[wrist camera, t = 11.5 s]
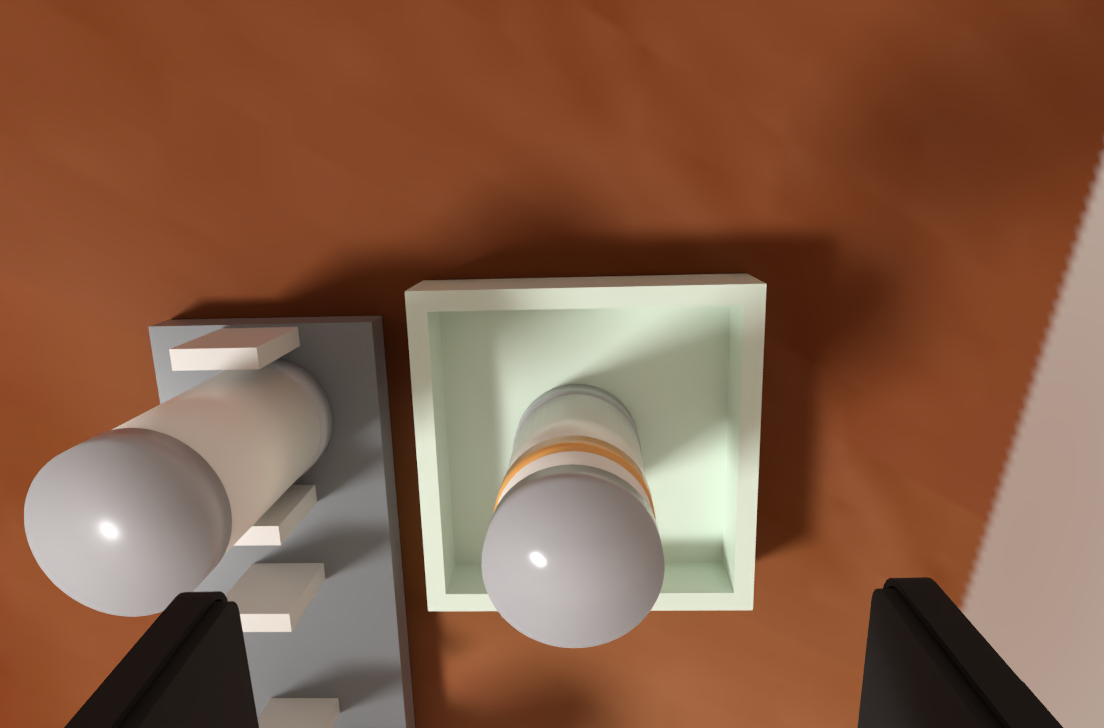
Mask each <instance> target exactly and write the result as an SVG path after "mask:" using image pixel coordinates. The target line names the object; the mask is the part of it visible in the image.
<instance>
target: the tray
mask: <svg viewBox="0 0 1104 728" xmlns="http://www.w3.org/2000/svg"><path fill="white" fill-rule="evenodd" d="M766 286H767V284H766V283H764V282H762V281H760V280H759V279H757V278H755V277H753V276H751V275H749V274H747V273H740V274H695V275H649V276H603V277H557V278H512V279H466V280H423V281H421V282H419V283H418V284H416V285H414V286H413V287H411V288H409V289H408V290H406V291H405V304H406V317H407V331H408V345H409V358H410V372H411V386H412V399H413V413H414V427H415V440H416V454H417V467H418V481H419V495H420V508H421V522H422V536H423V549H424V563H425V577H426V590H427V604H428V611H497V609H496V608H495V606H494V605H493V603H492V601H491V600H490V598H489V595H488V593H487V591H486V588H485V585H484V581H483V576H482V567H481V563H482V551H483V546H484V542H485V538H486V535H487V531H488V528H489V524H490V521H491V518H492V515H493V513H494V508H495V504H496V500H497V497H498V493H499V490H500V487H501V484H502V481H503V479H504V477H505V475H506V472H507V468H508V465H509V461H510V458H511V454H512V451H513V443H514V438H515V434H516V431H517V427H518V424H519V421H520V419H521V417H522V415H523V413H524V412H525V410H526V409H527V407H528V406H529V405H530V404H531V403H532V402H533V401H534V400H535V399H536V398H537V397H539V396H540V395H542V394H543V393H545V392H547V391H549V390H551V389H553V388H556V387H559V386H563V385H568V384H585V385H591V386H595V387H598V388H601V389H603V390H605V391H607V392H609V393H611V394H612V395H614V396H615V397H616V398H618V399H619V400H620V401H621V402H622V403H623V404H624V405H625V406H626V407H627V409H628V410H629V412H630V413H631V415H632V417H633V419H634V421H635V424H636V427H637V430H638V435H639V440H640V445H641V458H642V462H643V467H644V472H645V477H646V480H647V483H648V486H649V489H650V492H651V497H652V501H653V506H654V511H655V516H656V522H657V525H658V530H659V535H660V539H661V544H662V549H663V554H664V565H665V570H664V579H663V583H662V588H661V591H660V593H659V596H658V598H657V600H656V602H655V604H654V606H653V607H652V609H651V610H753V594H754V570H755V546H756V523H757V499H758V475H759V452H760V428H761V404H762V381H763V357H764V333H765V310H766ZM651 610H650V611H651Z"/></svg>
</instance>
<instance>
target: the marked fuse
mask: <svg viewBox="0 0 1104 728" xmlns="http://www.w3.org/2000/svg"><path fill="white" fill-rule="evenodd" d="M481 567H482V576H483V581H484V585H485V588H486V591H487V593H488V595H489V598H490V600H491V601H492V603H493V605H494V606H495V608H496V609H497V611H498V612H499V613H500V614H501V616H502V617H503V618H504V619H505V620H506V621H507V622H508V623H509V624H510V625H512V626H513V627H514V628H515V629H517V630H518V631H519V632H521V633H523V634H524V635H526V636H528V637H530V638H532V639H534V640H536V641H539V642H542V643H545V644H548V645H552V646H557V647H564V648H586V647H592V646H597V645H601V644H604V643H608V642H610V641H612V640H615V639H617V638H619V637H621V636H623V635H624V634H626V633H628V632H629V631H630V630H632V629H633V628H634V627H636V626H637V625H638V624H639V623H640V622H641V621H642V620H643V619H644V618H645V617H646V616H647V614H648V613H649V612H650V610H651V609H652V607H653V606H654V604H655V602H656V600H657V598H658V596H659V593H660V591H661V588H662V583H663V579H664V570H665V565H664V554H663V549H662V544H661V539H660V535H659V530H658V525H657V522H656V516H655V511H654V506H653V501H652V497H651V492H650V489H649V486H648V483H647V480H646V477H645V472H644V467H643V462H642V458H641V445H640V440H639V435H638V430H637V427H636V424H635V421H634V419H633V417H632V415H631V413H630V412H629V410H628V409H627V407H626V406H625V405H624V404H623V403H622V402H621V401H620V400H619V399H618V398H616V397H615V396H614V395H612V394H611V393H609V392H607V391H605V390H603V389H601V388H598V387H595V386H591V385H585V384H568V385H563V386H559V387H556V388H553V389H551V390H549V391H547V392H545V393H543V394H542V395H540V396H539V397H537V398H536V399H535V400H534V401H533V402H532V403H531V404H530V405H529V406H528V407H527V409H526V410H525V412H524V413H523V415H522V417H521V419H520V421H519V424H518V427H517V431H516V434H515V438H514V443H513V451H512V454H511V458H510V461H509V465H508V468H507V472H506V475H505V477H504V479H503V481H502V484H501V487H500V490H499V493H498V497H497V500H496V504H495V508H494V513H493V515H492V518H491V521H490V524H489V528H488V531H487V535H486V538H485V542H484V546H483V551H482V563H481Z"/></svg>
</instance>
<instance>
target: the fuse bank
mask: <svg viewBox="0 0 1104 728" xmlns="http://www.w3.org/2000/svg"><path fill="white" fill-rule="evenodd" d="M148 328H149V334H150V340H151V347H152V353H153V360H154V366H155V372H156V379H157V385H158V391H159V398H160V405H158V406H156V407H154V408H153V409H151V410H149V411H147V412H145V413H143V414H141V415H139V416H137V417H135V418H133V419H131V420H130V421H128V422H126V423H124V424H122V425H120V426H118V427H116V428H114V429H112V430H110V431H106V432H103V433H101V434H98V435H96V436H94V437H92V438H90V439H88V440H86V441H84V442H82V443H80V444H78V445H76V446H75V447H73V448H71V449H69V450H67V451H65V452H63V453H61V454H59V455H58V456H56V457H55V458H53V459H52V460H51V461H49V462H48V463H47V464H46V465H45V466H44V467H43V468H42V469H41V470H40V471H39V473H38V474H37V476H36V477H35V478H34V480H33V482H32V484H31V486H30V488H29V491H28V494H27V497H26V501H25V508H24V524H25V531H26V536H27V539H28V543H29V546H30V548H31V551H32V553H33V555H34V557H35V559H36V561H37V562H38V564H39V566H40V567H41V569H42V570H43V571H44V573H45V574H46V575H47V576H48V578H49V579H50V580H51V581H52V582H53V583H54V584H55V585H56V586H57V587H58V588H60V589H61V590H62V591H63V592H64V593H66V594H67V595H68V596H70V597H71V598H73V599H74V600H76V601H78V602H80V603H81V604H83V605H85V606H87V607H90V608H92V609H95V610H97V611H101V612H104V613H107V614H112V615H118V616H131V617H133V616H146V615H151V614H156V613H159V612H162V611H164V610H165V609H166V608H167V606H168V605H169V604H170V603H171V602H172V601H173V599H174V598H175V597H176V596H177V595H178V594H180V593H183V592H213V591H221V592H223V593H224V594H225V596H226V597H227V600H228V601H234V602H236V604H237V605H238V608H239V612H240V618H241V624H242V630H243V636H244V642H245V648H246V653H247V659H248V665H249V671H250V677H251V683H252V689H253V695H254V701H255V707H256V713H257V718H258V724H259V728H415V718H414V705H413V693H412V681H411V669H410V656H409V644H408V632H407V619H406V607H405V595H404V582H403V570H402V558H401V545H400V533H399V521H398V508H397V496H396V484H395V472H394V459H393V447H392V435H391V422H390V410H389V398H388V385H387V373H386V361H385V348H384V336H383V324H382V315H381V316H331V317H281V318H231V319H181V320H167V321H164V322H161V323H158V324H155V325H152V326H149V327H148Z"/></svg>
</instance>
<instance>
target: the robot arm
mask: <svg viewBox="0 0 1104 728" xmlns="http://www.w3.org/2000/svg"><path fill="white" fill-rule="evenodd" d="M64 728H259V724H258V718H257V713H256V707H255V701H254V695H253V689H252V683H251V677H250V671H249V665H248V659H247V653H246V648H245V642H244V636H243V630H242V624H241V618H240V612H239V608H238V605H237V604H236V602H234V601H228V600H227V597H226V596H225V594H224V593H223V592H221V591H213V592H183V593H180V594H178V595H177V596H176V597H175V598H174V599H173V601H172V602H171V603H170V604H169V605H168V606H167V608H166V609H165V610H164V611H163V612H162V613H161V615H160V616H159V617H158V618H157V619H156V620H155V622H154V623H153V624H152V625H151V626H150V628H149V629H148V630H147V631H146V632H145V633H144V635H143V636H142V637H141V638H140V639H139V640H138V642H137V643H136V644H135V645H134V646H133V648H132V649H131V650H130V651H129V652H128V653H127V655H126V656H125V657H124V658H123V659H122V660H121V662H120V663H119V664H118V665H117V666H116V667H115V669H114V670H113V671H112V672H111V673H110V675H109V676H108V677H107V678H106V679H105V680H104V682H103V683H102V684H101V685H100V686H99V687H98V689H97V690H96V691H95V692H94V693H93V694H92V696H91V697H90V698H89V699H88V700H87V702H86V703H85V704H84V705H83V706H82V707H81V709H80V710H79V711H78V712H77V713H76V714H75V716H74V717H73V718H72V719H71V720H70V721H69V723H68V724H67V725H66V726H65V727H64ZM858 728H1063V727H1062V726H1061V725H1060V723H1059V722H1058V721H1057V720H1056V719H1055V718H1054V717H1053V716H1052V715H1051V713H1050V712H1049V711H1048V710H1047V709H1046V707H1045V706H1044V705H1043V704H1042V703H1041V702H1040V701H1039V699H1038V698H1037V697H1036V696H1035V695H1034V694H1033V693H1032V691H1031V690H1030V689H1029V688H1028V687H1027V686H1026V684H1025V683H1024V682H1022V681H1021V680H1020V679H1019V678H1018V676H1017V675H1016V674H1015V673H1014V672H1013V671H1012V669H1011V668H1010V667H1009V666H1008V665H1007V664H1006V663H1005V661H1004V660H1003V659H1002V658H1001V657H1000V656H999V655H998V653H997V652H996V651H995V650H994V649H993V648H992V646H991V645H990V644H989V643H988V642H987V641H986V640H985V638H984V637H983V636H982V635H981V634H980V633H979V632H978V630H977V629H976V628H975V627H974V626H973V625H972V624H971V622H970V621H969V620H968V619H967V618H966V617H965V615H964V614H963V613H962V612H961V611H960V610H959V609H958V607H957V606H956V605H955V604H954V603H953V602H952V601H951V599H950V598H949V597H948V596H947V595H946V594H945V593H944V591H943V590H942V589H941V588H940V587H939V586H938V584H937V583H936V582H935V581H933V580H932V579H931V578H927V577H925V578H889V579H888V580H886V582H885V584H884V587H883V589H876V590H874V592H873V595H872V601H871V610H870V620H869V629H868V638H867V647H866V656H865V665H864V675H863V684H862V693H861V702H860V711H859V720H858Z"/></svg>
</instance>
